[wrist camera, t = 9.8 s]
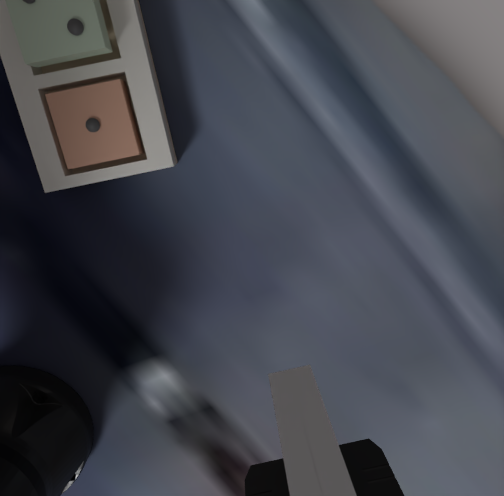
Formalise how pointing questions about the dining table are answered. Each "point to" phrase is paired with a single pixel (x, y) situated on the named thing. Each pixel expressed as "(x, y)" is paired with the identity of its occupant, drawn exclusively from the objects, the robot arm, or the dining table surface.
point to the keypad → (82, 74)
